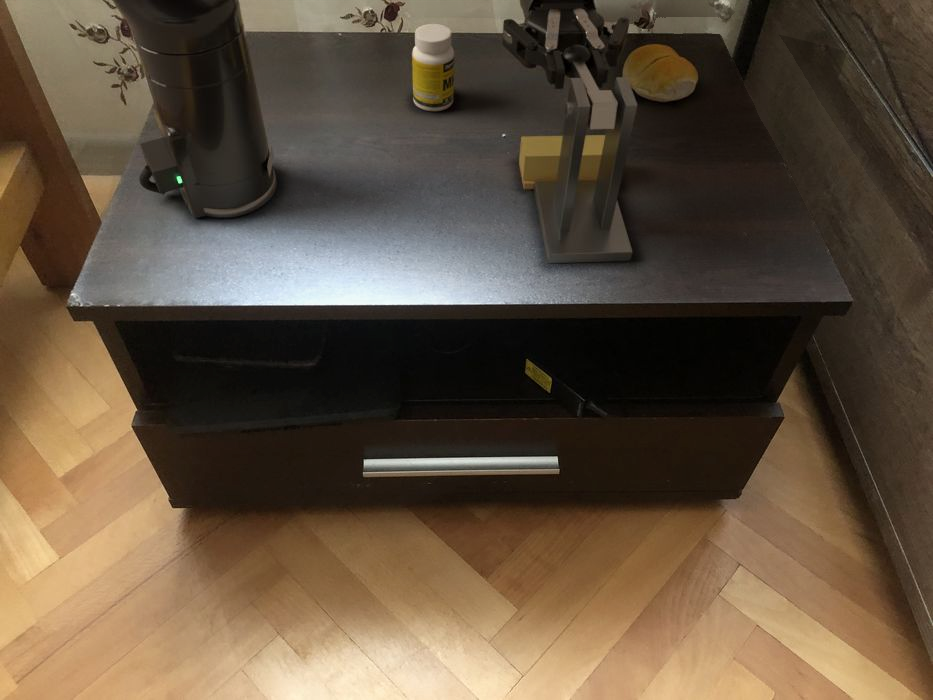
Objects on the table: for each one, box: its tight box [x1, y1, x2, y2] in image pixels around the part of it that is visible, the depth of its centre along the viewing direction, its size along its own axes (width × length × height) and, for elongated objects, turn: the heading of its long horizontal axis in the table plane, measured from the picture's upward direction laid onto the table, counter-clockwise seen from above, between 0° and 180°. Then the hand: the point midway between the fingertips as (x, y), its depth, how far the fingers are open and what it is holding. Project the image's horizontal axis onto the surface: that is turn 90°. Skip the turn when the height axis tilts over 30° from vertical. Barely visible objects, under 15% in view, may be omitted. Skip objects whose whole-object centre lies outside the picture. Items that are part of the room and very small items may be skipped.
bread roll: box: [622, 43, 699, 103], centre depth 93 cm, size 8×9×4 cm
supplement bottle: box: [411, 23, 455, 112], centre depth 88 cm, size 5×5×8 cm
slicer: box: [533, 76, 638, 264], centre depth 72 cm, size 11×8×15 cm
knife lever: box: [561, 44, 618, 130], centre depth 72 cm, size 15×3×3 cm, turn 4°
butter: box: [518, 134, 605, 190], centre depth 81 cm, size 4×10×4 cm, turn 94°
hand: (580, 79), depth 75 cm, fingers closed on knife lever, 3 cm apart
